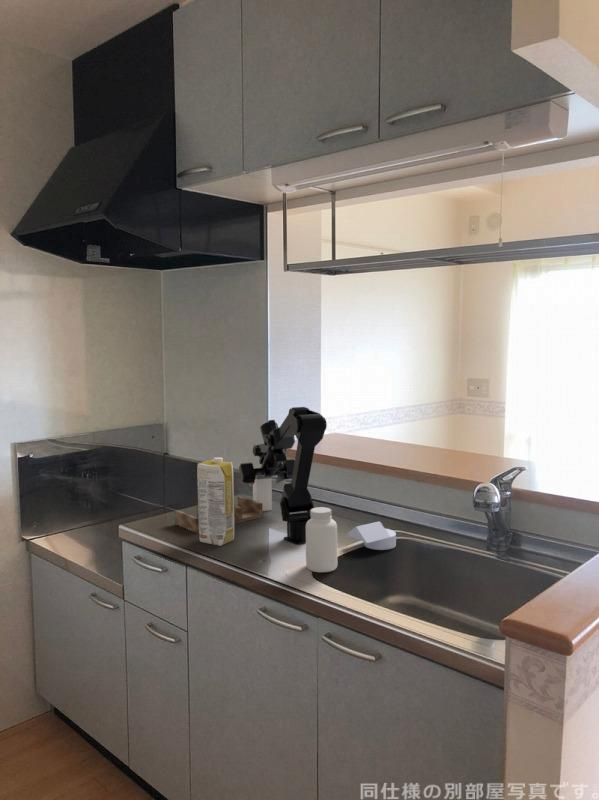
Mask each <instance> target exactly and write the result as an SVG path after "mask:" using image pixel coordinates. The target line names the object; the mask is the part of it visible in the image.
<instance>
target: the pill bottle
mask: <svg viewBox="0 0 599 800" xmlns="http://www.w3.org/2000/svg"><path fill="white" fill-rule="evenodd" d="M310 516H311V519H309V521H307V523H306V542H305V565H306V568H307V569H308V571H311V572H314V573H315V572H316V573H330V572H333V571H335V570H336V569H337V568H338V524H337V522H336V521H335V520H334V519H333V516H332V509H331V508H330V507H324V506H320V507H318V506H317V507H314V508H313V509H311V510H310Z"/></svg>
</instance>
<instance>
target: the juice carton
mask: <svg viewBox="0 0 599 800" xmlns="http://www.w3.org/2000/svg"><path fill="white" fill-rule="evenodd" d="M223 460H224V458H223V457H213V459H210V460H209V459H208V460H205V461H202V462H199V463H197V470H196V471H197V472H196V473H197V474H196V475H197V478H196V479H197V480H196V481H197V506H198V518H199V533H198V536H199V542H201V543H203V544H204V543H205V544H209V545H210V544H211V545H214V546H219V547H221V546H224V545H226V544H229V543H230V542H232V541H234V539H235V524H234V505H235V500H234V499H235V494H234V491H235V490H234V489H235V488H234V483H235V482H234V467H233V462H231V461H230V462H229V461H228V462H227V461H223Z"/></svg>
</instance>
